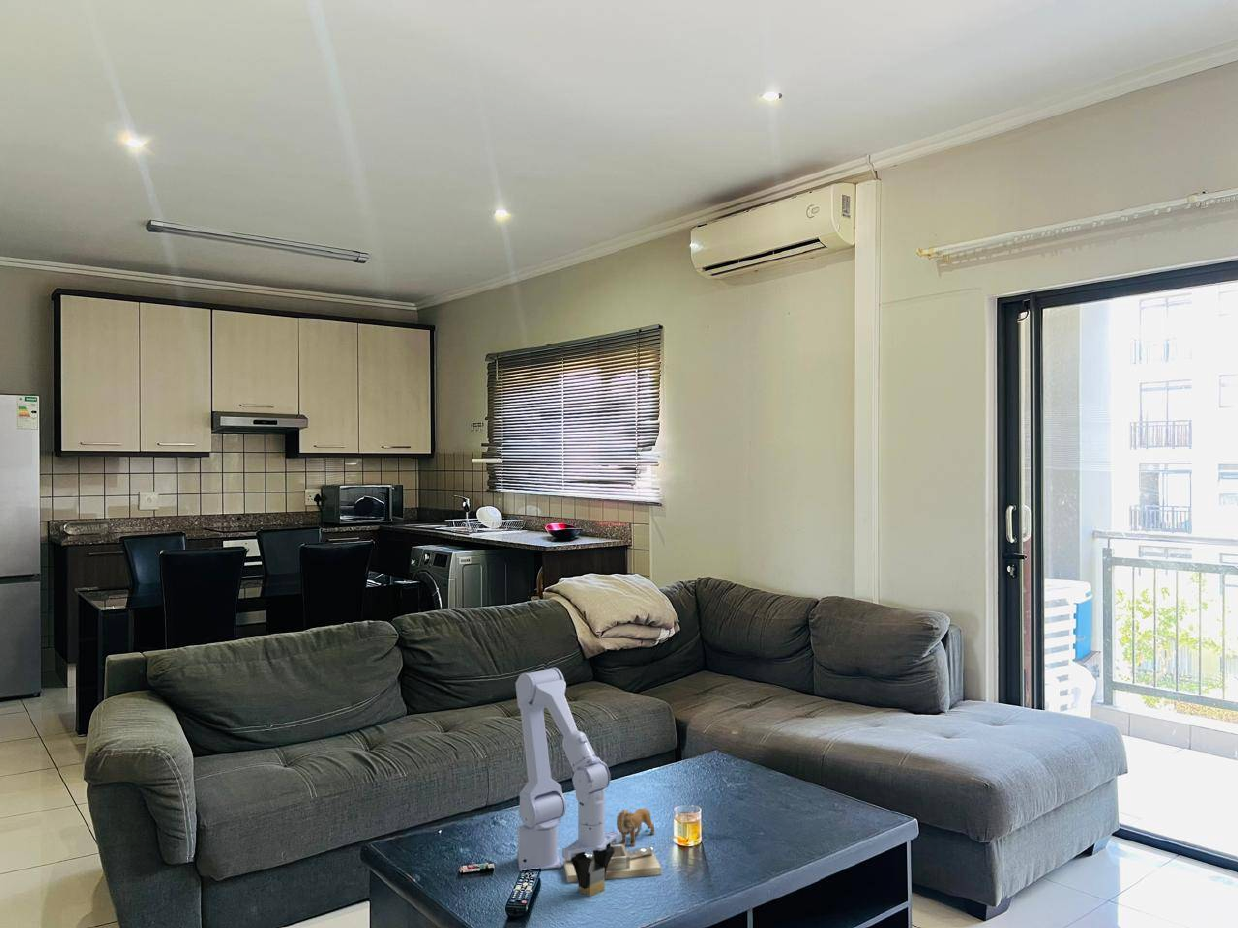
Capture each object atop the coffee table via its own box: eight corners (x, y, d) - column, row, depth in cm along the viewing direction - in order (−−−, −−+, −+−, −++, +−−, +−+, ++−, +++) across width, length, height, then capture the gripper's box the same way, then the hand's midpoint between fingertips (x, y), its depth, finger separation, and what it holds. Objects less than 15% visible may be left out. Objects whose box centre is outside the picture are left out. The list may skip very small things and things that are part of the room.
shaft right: (628, 860, 200) (628, 852, 200) (625, 857, 201) (625, 849, 201) (655, 855, 203) (655, 847, 203) (651, 852, 204) (651, 844, 204)
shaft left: (594, 860, 200) (594, 852, 200) (593, 863, 198) (593, 855, 198) (564, 859, 201) (564, 851, 201) (563, 862, 199) (563, 854, 199)
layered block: (590, 896, 186) (590, 872, 186) (578, 889, 189) (578, 866, 189) (604, 890, 189) (604, 867, 189) (592, 884, 192) (592, 861, 192)
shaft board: (568, 882, 193) (568, 864, 193) (562, 864, 201) (562, 846, 201) (661, 874, 196) (661, 856, 196) (652, 856, 205) (652, 839, 205)
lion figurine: (631, 853, 207) (631, 815, 207) (611, 848, 210) (611, 811, 210) (658, 831, 220) (658, 795, 220) (639, 827, 223) (639, 791, 223)
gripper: (576, 835, 181) (576, 901, 181) (628, 817, 191) (628, 879, 191) (555, 824, 187) (555, 888, 187) (608, 807, 196) (608, 868, 196)
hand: (591, 883), depth 189 cm, fingers closed on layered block, 4 cm apart
